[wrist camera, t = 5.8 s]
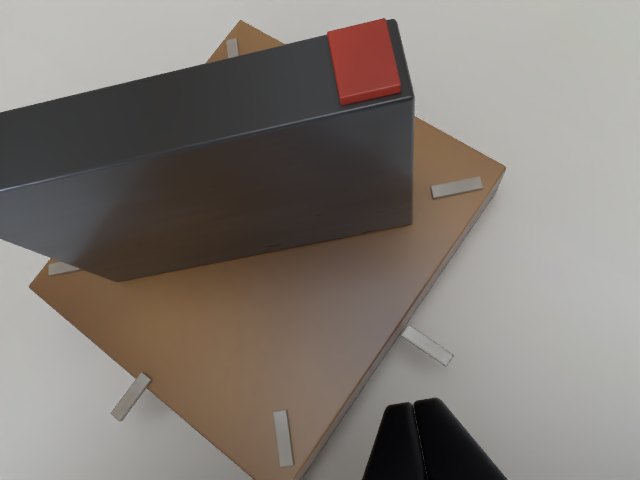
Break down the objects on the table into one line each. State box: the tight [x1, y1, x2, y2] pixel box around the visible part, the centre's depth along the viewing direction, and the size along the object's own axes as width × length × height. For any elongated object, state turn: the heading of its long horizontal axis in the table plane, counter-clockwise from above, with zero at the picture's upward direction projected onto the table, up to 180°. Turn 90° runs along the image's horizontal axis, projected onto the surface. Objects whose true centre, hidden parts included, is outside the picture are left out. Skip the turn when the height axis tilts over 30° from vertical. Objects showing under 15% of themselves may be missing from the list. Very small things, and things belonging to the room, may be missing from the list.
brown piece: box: [29, 20, 506, 480], centre depth 17 cm, size 13×13×2 cm
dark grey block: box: [0, 18, 415, 282], centre depth 13 cm, size 9×2×7 cm, turn 99°
